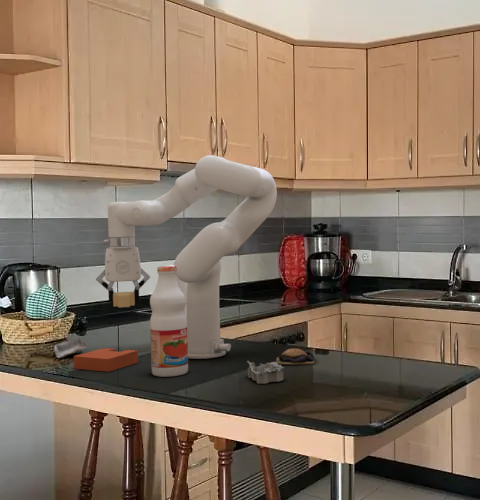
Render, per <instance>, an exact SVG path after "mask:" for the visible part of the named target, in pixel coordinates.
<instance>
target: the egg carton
mask: <svg viewBox="0 0 480 500" xmlns="http://www.w3.org/2000/svg"><path fill="white" fill-rule="evenodd" d="M246 363H247V364H248V365H249V367H248V368H247V377H248V378H249V379H251V380H252V381H255V382H256V383H257V384H263V385H265V384H269V383H273V382H274V383H275V382H281V381H285V379H284V376H285V375H284V366H283V365H282V364H277V363H276V361H273V362H265V363H266V364H263V363H262V362H261V363H260V364H259V366H256V363H254V362H250V360H247V361H246Z"/></svg>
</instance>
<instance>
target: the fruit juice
mask: <svg viewBox="0 0 480 500" xmlns="http://www.w3.org/2000/svg"><path fill="white" fill-rule="evenodd" d="M176 271H177V268H176V266H167V265H164V266H158V267H157V268H156V273H157V274H158V277H157V282H156V286H155V288H154V289H153V292H152V293H151V295H150V297H149V305H150V308H151V316H150V318H149V319H150V320H149V333H150V334H149V335H150V337H149V338H150V363H151V364H150V365H151V366H150V367H151V374H152V375H153V376H155V377H159V378H160V377H161V378H169V377H170V378H171V377H177V376H183V375H186V374H187V373H188V372H189V358H188V339H187V318H186V315H185V312H184V308H185V304H186V298H185V295H184V293H183V292H182V290H181V289H180V287H179V285H178V282H177V279H176Z"/></svg>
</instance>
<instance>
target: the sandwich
mask: <svg viewBox="0 0 480 500" xmlns="http://www.w3.org/2000/svg"><path fill="white" fill-rule="evenodd" d="M275 362H276V363H277V364H278V365H282V366H283V365H287V366H288V365H291V366H292V365H303V366H304V365H315V363H316V361H315V356H314V355H313V353H311V352H310V351H304V350H302V349H300V348H288V349H286V350H284V351H282V353H281V354H280V356H278V357H276V360H275Z"/></svg>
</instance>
